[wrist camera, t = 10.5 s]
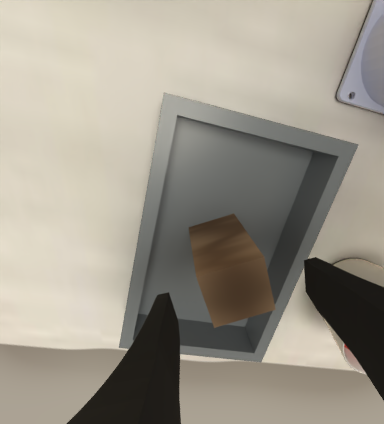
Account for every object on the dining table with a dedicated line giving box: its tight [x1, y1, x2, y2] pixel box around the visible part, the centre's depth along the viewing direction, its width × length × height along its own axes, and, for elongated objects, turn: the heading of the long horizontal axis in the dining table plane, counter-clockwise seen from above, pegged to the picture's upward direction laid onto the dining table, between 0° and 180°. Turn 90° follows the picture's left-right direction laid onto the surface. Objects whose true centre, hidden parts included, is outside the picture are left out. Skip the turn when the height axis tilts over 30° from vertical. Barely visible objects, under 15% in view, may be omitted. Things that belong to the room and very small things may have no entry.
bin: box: [119, 93, 358, 362], centre depth 20 cm, size 13×20×4 cm, turn 167°
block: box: [188, 214, 276, 328], centre depth 17 cm, size 4×4×7 cm
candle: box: [322, 259, 384, 375], centre depth 22 cm, size 9×9×6 cm
